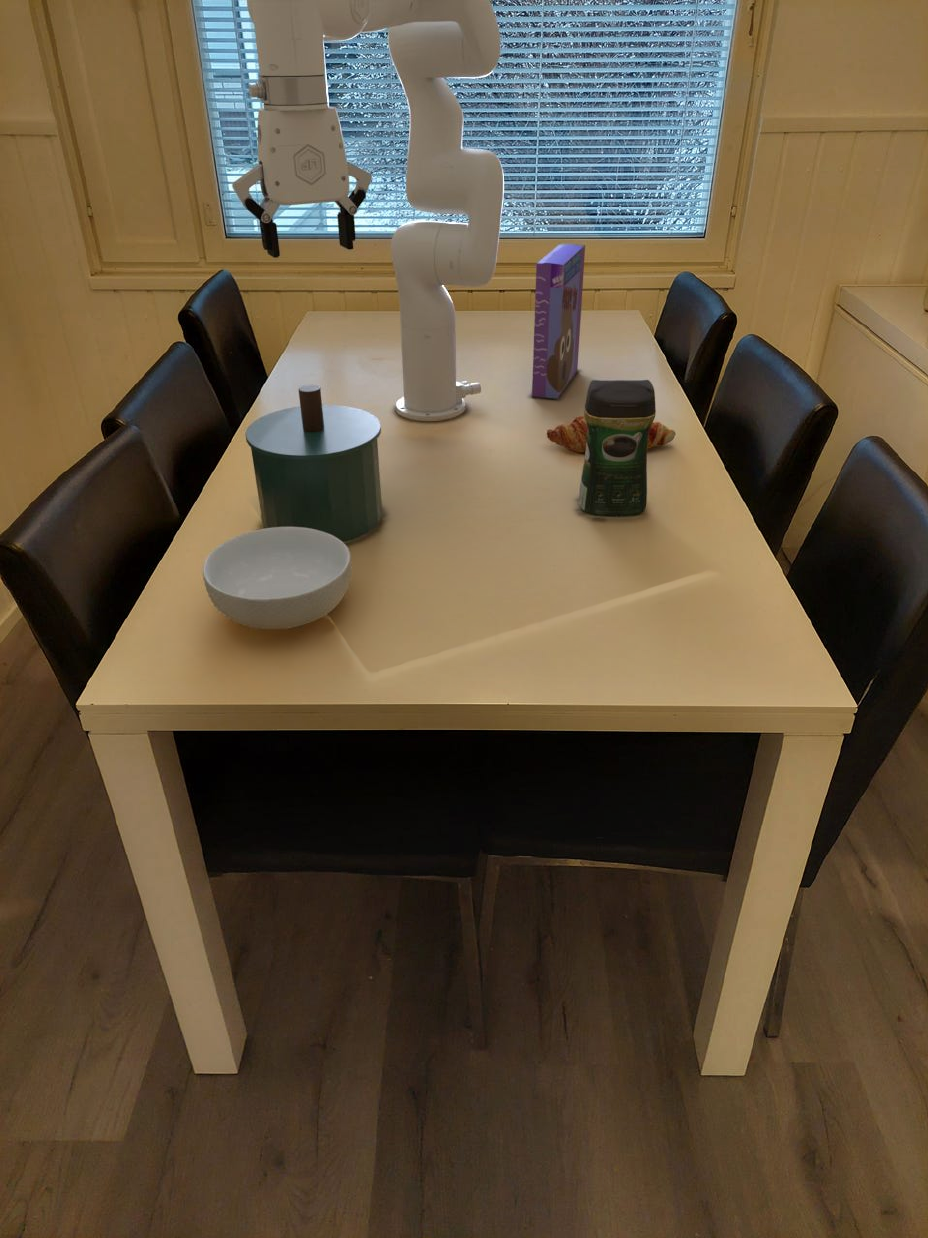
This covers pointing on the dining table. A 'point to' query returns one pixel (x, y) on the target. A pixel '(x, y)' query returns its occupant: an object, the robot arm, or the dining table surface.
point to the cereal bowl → (278, 576)
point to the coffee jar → (616, 447)
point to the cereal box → (557, 319)
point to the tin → (321, 492)
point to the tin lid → (313, 429)
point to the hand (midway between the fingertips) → (310, 251)
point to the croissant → (577, 435)
